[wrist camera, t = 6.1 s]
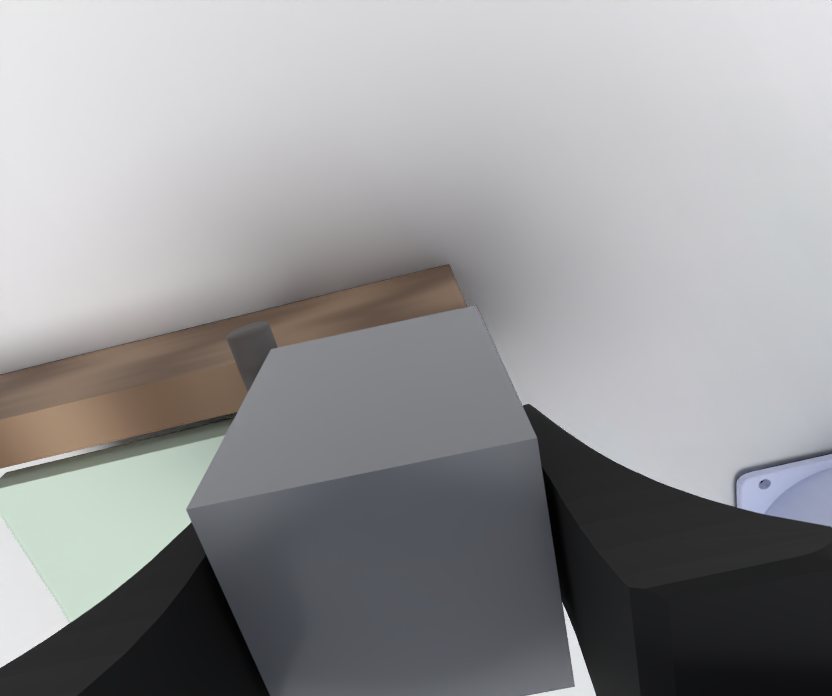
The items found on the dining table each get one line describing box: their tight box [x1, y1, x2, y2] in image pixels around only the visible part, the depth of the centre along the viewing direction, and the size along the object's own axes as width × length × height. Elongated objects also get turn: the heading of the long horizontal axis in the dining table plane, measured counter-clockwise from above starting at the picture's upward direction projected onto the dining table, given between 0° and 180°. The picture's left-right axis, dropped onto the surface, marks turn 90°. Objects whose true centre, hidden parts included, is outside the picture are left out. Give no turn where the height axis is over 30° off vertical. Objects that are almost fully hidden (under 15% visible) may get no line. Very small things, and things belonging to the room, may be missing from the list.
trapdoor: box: [0, 418, 234, 623], centre depth 20 cm, size 14×12×4 cm
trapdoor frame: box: [0, 264, 467, 468], centre depth 21 cm, size 18×18×6 cm
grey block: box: [186, 305, 575, 696], centre depth 12 cm, size 5×5×6 cm
